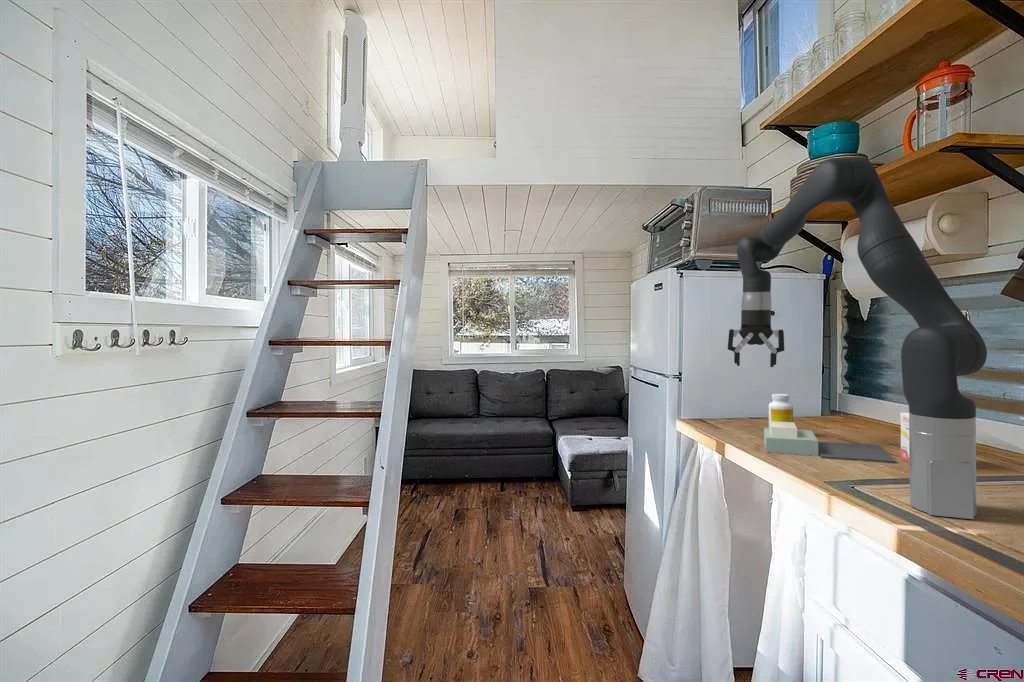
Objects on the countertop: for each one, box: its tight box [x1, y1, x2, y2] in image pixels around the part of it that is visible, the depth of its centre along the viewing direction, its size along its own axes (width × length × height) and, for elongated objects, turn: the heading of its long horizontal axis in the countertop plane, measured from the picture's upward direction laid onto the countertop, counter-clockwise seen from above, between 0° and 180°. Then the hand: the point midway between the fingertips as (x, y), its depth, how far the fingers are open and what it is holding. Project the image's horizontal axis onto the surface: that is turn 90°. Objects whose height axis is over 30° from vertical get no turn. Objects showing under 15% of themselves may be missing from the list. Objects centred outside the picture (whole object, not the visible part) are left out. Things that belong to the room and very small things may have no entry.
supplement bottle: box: [768, 393, 794, 428], centre depth 155 cm, size 7×7×13 cm
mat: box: [818, 441, 897, 464], centre depth 134 cm, size 18×16×1 cm
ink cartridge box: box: [899, 412, 910, 464], centre depth 121 cm, size 9×5×15 cm, turn 168°
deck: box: [763, 427, 819, 457], centre depth 140 cm, size 14×12×4 cm
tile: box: [770, 421, 798, 438], centre depth 140 cm, size 9×6×2 cm, turn 156°
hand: (754, 366), depth 143 cm, fingers open, 8 cm apart
